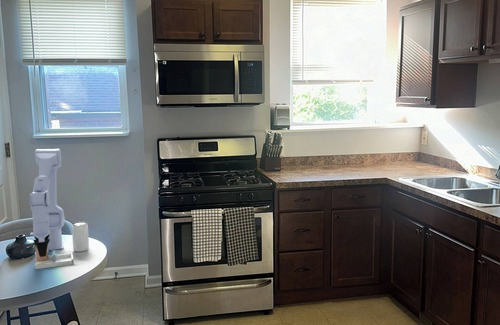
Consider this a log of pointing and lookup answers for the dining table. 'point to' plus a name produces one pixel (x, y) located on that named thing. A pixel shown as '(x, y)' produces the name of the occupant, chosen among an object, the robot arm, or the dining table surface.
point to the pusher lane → (60, 261)
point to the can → (80, 236)
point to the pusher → (54, 256)
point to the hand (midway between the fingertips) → (42, 254)
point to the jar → (41, 257)
